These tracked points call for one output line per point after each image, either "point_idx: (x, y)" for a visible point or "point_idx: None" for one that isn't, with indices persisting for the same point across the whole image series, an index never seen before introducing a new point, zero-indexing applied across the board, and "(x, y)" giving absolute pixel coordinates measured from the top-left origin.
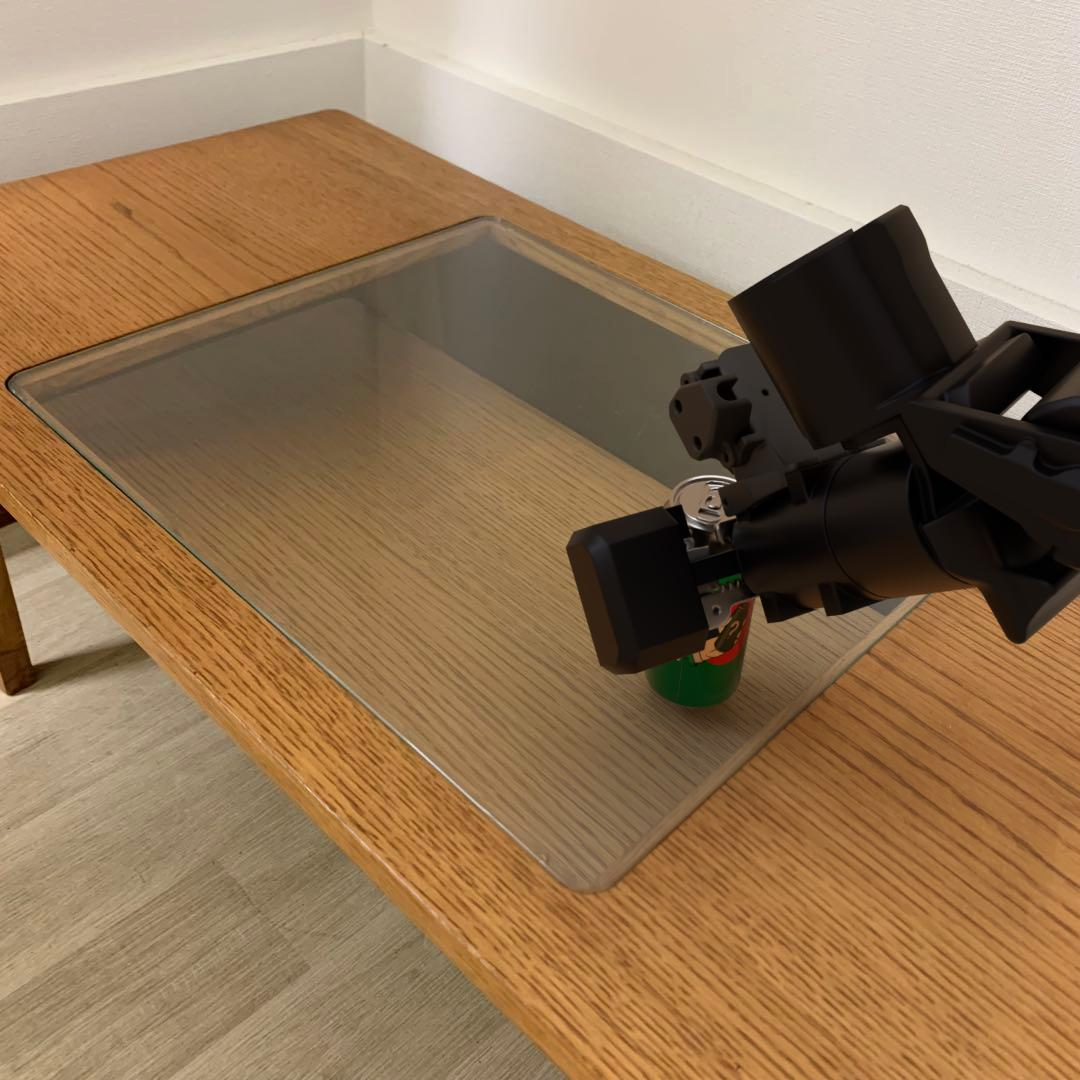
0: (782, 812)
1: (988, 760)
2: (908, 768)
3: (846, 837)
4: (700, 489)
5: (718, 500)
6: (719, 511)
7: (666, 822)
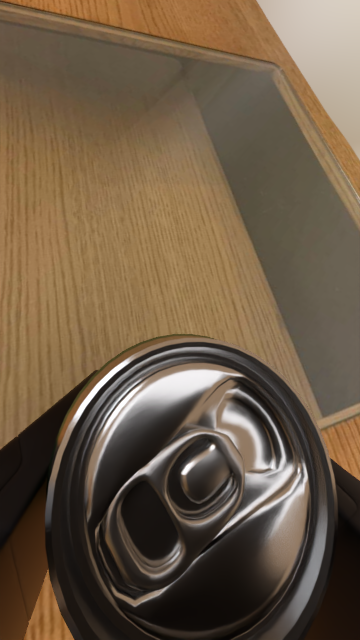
0: None
1: None
2: None
3: None
4: (201, 394)
5: (217, 476)
6: (187, 537)
7: None
